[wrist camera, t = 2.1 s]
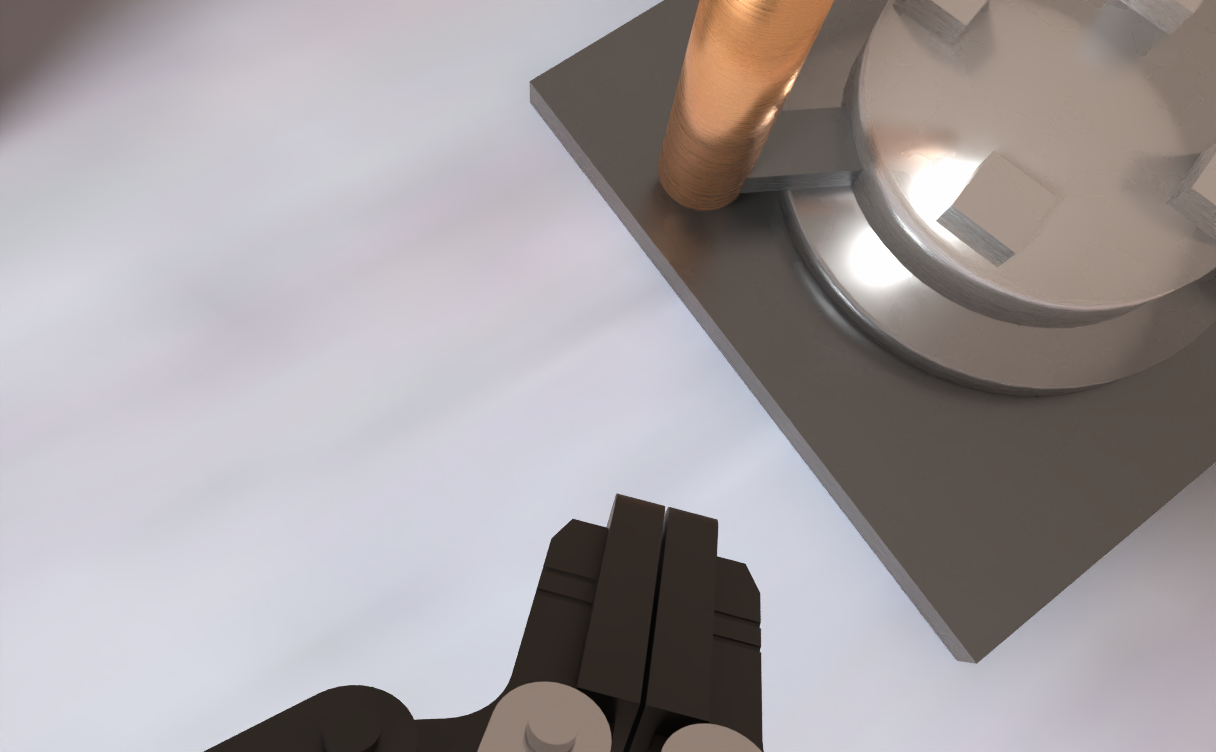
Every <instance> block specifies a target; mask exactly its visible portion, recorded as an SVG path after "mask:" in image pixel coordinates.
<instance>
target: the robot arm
mask: <svg viewBox="0 0 1216 752" xmlns="http://www.w3.org/2000/svg"><path fill="white" fill-rule="evenodd" d="M664 515H665V516H664ZM717 541H718V520H717V519H713V518H709V517H705V516H702V515H698V514H694V513H690V512H686V511H683V510H679V509H675V508H671V507H668V509H667V511H666V513H665V506H663V505H659V504H655V503H651V502H647V501H644V500H640V499H636V498H632V497H628V496H624V495H621V494H616V496H615V500H614V503H613V506H612V510H611V513H610V517H609V520H608V524H607V527H602V526H598V525H594V524H591V523H587V522H583V521H579V520H575V519H572V520H571V521H570V522H569V523H568V524H567V525H565V526H564V527H563V528H562V529H561V530H560V531H559V532H558V533H557V534H556V535H555V536H554V537H553V538H552V539H551V542H550V546H549V549H548V552H547V556H546V559H545V563H544V566H543V570H542V573H541V576H540V580H539V583H538V587H537V590H536V594H535V597H534V600H533V604H532V607H531V611H530V614H529V618H528V621H527V624H526V628H525V631H524V635H523V638H522V642H521V645H520V648H519V652H518V655H517V659H516V662H515V666H514V669H513V673H512V676H511V678H510V681H509V683H508V685H507V686H506V688H505V690H504V691H503V692H502V693H501V695H500V696H499V697H498V698H497V699H496V700H495V701H493V702H492V703H491V704H489V705H488V706H486V707H485V708H483V709H481V710H479V711H477V712H474V713H472V714H469V715H465V716H461V717H456V718H446V719H420V720H414V719H413V716H412V715H411V713H410V712H409V710H408V709H407V707H406V706H405V705H404V704H403V703H402V702H401V701H400V700H398V699H397V698H396V697H394V696H393V695H391V694H389V693H387V692H385V691H383V690H380V689H377V688H374V687H369V686H362V685H348V686H340V687H336V688H332V689H328V690H326V691H323V692H321V693H319V694H317V695H315V696H313V697H311V698H309V699H307V700H305V701H303V702H301V703H299V704H297V705H295V706H293V707H291V708H289V709H287V710H285V711H283V712H281V713H279V714H277V715H275V716H273V717H271V718H269V719H267V720H265V721H263V722H261V723H259V724H257V725H255V726H253V727H251V728H249V729H247V730H245V731H243V732H241V733H239V734H238V735H236V736H234V737H232V738H230V739H228V740H226V741H224V742H222V743H220V744H218V745H216V746H214V747H212V748H210V749H208V750H206V751H204V752H764V751H763V742H762V683H761V652H760V648H761V628H759V627H760V623H761V616H760V592H759V590H758V588H757V586H756V584H755V582H754V580H753V578H752V576H751V574H750V572H749V570H748V568H747V566H746V564H744V563H740V562H736V561H733V560H729V559H725V558H721V557H717Z"/></svg>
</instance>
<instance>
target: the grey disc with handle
mask: <svg viewBox="0 0 1216 752" xmlns="http://www.w3.org/2000/svg"><path fill="white" fill-rule="evenodd" d="M833 2H834V0H699V4H698V8H697V12H696V16H695V19H694V23H693V27H692V31H691V35H690V39H689V43H688V47H687V51H686V55H685V58H684V62H683V66H682V70H681V74H680V78H679V82H678V86H677V90H676V93H675V97H674V101H673V105H672V109H671V113H670V117H669V121H668V125H667V129H666V132H665V136H664V140H663V144H662V148H661V152H660V156H659V160H658V174H659V178H660V181H661V184H662V186H663V188H664V189H665V191H666V192H667V193H668V194H669V196H670V197H671V198H673V199H674V200H675V201H676V202H678V203H679V204H681V205H683V206H685V207H687V208H690V209H694V210H699V211H711V210H716V209H720V208H722V207H725V206H727V205H728V204H730V203H731V202H733V201H734V200H735V199H736V198H737V197H738V196H739V195H740V193H751V192H766V191H780V190H795V189H809V188H823V187H838V186H851V189H852V191H853V194H854V196H855V199H856V201H857V204H858V205H859V207H860V209H861V211H862V213H863V214H864V216H865V218H866V220H867V222H868V224H869V225H870V227H871V228H872V229H873V231H874V232H875V234H876V235H877V236H878V238H879V239H880V241H881V242H882V243H883V245H884V246H885V247H886V248H887V249H888V250H889V251H890V253H891V254H892V255H893V256H894V257H895V258H896V259H897V260H898V261H899V262H900V263H901V264H902V266H904V267H905V268H906V269H907V270H908V271H909V272H911V273H912V274H913V275H914V276H915V277H916V278H918V279H919V280H920V281H921V282H922V283H924V284H925V285H927V286H928V287H930V288H931V289H933V290H934V291H936V292H937V293H939V294H940V295H942V296H943V297H945V298H946V299H948V300H950V301H952V302H954V303H956V304H958V305H960V306H962V307H964V308H966V309H968V310H970V311H973V312H976V313H978V314H981V315H984V316H986V317H989V318H992V319H995V320H999V321H1003V322H1007V323H1011V324H1016V325H1020V326H1029V327H1038V328H1074V327H1080V326H1087V325H1093V324H1098V323H1101V322H1105V321H1108V320H1111V319H1114V318H1118V317H1120V316H1123V315H1125V314H1127V313H1129V312H1131V311H1133V310H1135V309H1138V308H1140V307H1142V306H1144V305H1146V304H1148V303H1150V302H1152V301H1154V300H1156V299H1158V298H1160V297H1162V296H1164V295H1166V294H1168V293H1170V292H1173V291H1175V290H1177V289H1179V288H1181V287H1183V286H1185V285H1187V284H1189V283H1191V282H1193V281H1195V280H1197V279H1199V278H1201V277H1202V276H1204V275H1205V274H1207V273H1208V272H1210V271H1211V270H1213V269H1214V268H1216V0H888V2H887V4H886V6H885V7H884V9H883V11H882V13H881V14H880V16H879V18H878V20H877V21H876V23H875V25H874V27H873V28H872V30H871V32H870V34H869V35H868V37H867V39H866V41H865V42H864V44H863V46H862V47H861V49H860V51H859V53H858V55H857V57H856V59H855V61H854V63H853V65H852V67H851V69H850V72H849V75H848V78H847V81H846V84H845V87H844V92H843V98H842V103H841V107H834V108H817V109H801V110H785V111H781V109H782V107H783V105H784V103H785V101H786V99H787V97H788V95H789V93H790V91H791V89H792V87H793V85H794V82H795V80H796V78H797V76H798V74H799V72H800V70H801V68H802V66H803V64H804V62H805V60H806V58H807V56H808V53H809V51H810V49H811V47H812V45H813V43H814V41H815V39H816V37H817V35H818V33H819V31H820V29H821V27H822V24H823V22H824V20H825V18H826V16H827V14H828V12H829V10H830V8H831V6H832V4H833Z"/></svg>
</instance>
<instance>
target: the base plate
mask: <svg viewBox="0 0 1216 752" xmlns="http://www.w3.org/2000/svg"><path fill="white" fill-rule="evenodd" d="M887 2H888V0H834V2H833V4H832V6H831V8H830V10H829V12H828V14H827V16H826V18H825V20H824V22H823V24H822V27H821V29H820V31H819V33H818V35H817V37H816V39H815V41H814V43H813V45H812V47H811V49H810V51H809V53H808V56H807V58H806V60H805V62H804V64H803V66H802V68H801V70H800V72H799V74H798V76H797V78H796V80H795V82H794V85H793V87H792V89H791V91H790V93H789V95H788V97H787V99H786V101H785V103H784V105H783V107H782V109H781V111H785V110H801V109H817V108H834V107H841V103H842V98H843V92H844V87H845V84H846V81H847V78H848V75H849V72H850V69H851V67H852V65H853V63H854V61H855V59H856V57H857V55H858V53H859V51H860V49H861V47H862V46H863V44H864V42H865V41H866V39H867V37H868V35H869V34H870V32H871V30H872V28H873V27H874V25H875V23H876V21H877V20H878V18H879V16H880V14H881V13H882V11H883V9H884V7H885V6H886V4H887ZM698 4H699V0H664V1H662V2H661V3H659V4H657V5H656V6H654V7H652V8H651V9H649V10H647V11H646V12H644V13H642V14H641V15H639V16H637V17H636V18H634V19H632V20H631V21H629V22H627V23H626V24H624V25H622V26H621V27H619V28H618V29H616V30H614V31H613V32H611V33H609V34H608V35H606V36H604V37H603V38H601V39H599V40H598V41H596V42H594V43H593V44H591V45H589V46H588V47H586V48H584V49H583V50H581V51H579V52H578V53H576V54H574V55H573V56H571V57H569V58H568V59H566V60H564V61H563V62H561V63H560V64H558V65H556V66H555V67H553V68H551V69H550V70H548V71H546V72H545V73H543V74H541V75H540V76H538V77H536V78H535V79H533V80H531V81H530V103H531V104H532V105H533V106H534V108H535V109H536V110H537V112H538V113H539V114H540V116H541V117H542V118H543V120H544V121H545V122H546V123H547V125H548V126H549V127H550V129H551V130H552V131H553V133H554V134H555V135H556V137H557V138H558V139H559V140H560V142H561V143H562V144H563V146H564V147H565V148H566V150H567V151H568V152H569V154H570V155H571V156H572V157H573V159H574V160H575V161H576V163H577V164H578V165H579V167H580V168H581V169H582V171H583V172H584V173H585V174H586V176H587V177H588V178H589V180H590V181H591V182H592V184H593V185H594V186H595V188H596V189H597V190H598V191H599V193H600V194H601V195H602V197H603V198H604V199H605V201H606V202H607V203H608V205H609V206H610V207H611V208H612V210H613V211H614V212H615V214H616V215H617V216H618V218H619V219H620V220H621V222H622V223H623V224H624V225H625V227H626V228H627V229H628V231H629V232H630V233H631V235H632V236H633V237H634V239H635V240H636V241H637V243H638V244H639V245H640V246H641V248H642V249H643V250H644V252H645V253H646V254H647V256H648V257H649V258H650V260H651V261H652V262H653V263H654V265H655V266H656V267H657V269H658V270H659V271H660V273H661V274H662V275H663V277H664V278H665V279H666V280H667V282H668V283H669V284H670V286H671V287H672V288H673V290H674V291H675V292H676V294H677V295H678V296H679V297H680V299H681V300H682V301H683V303H684V304H685V305H686V307H687V308H688V309H689V311H690V312H691V313H692V314H693V316H694V317H695V318H696V320H697V321H698V322H699V324H700V325H701V326H702V328H703V329H704V330H705V331H706V333H707V334H708V335H709V337H710V338H711V339H712V341H713V342H714V343H715V345H716V346H717V347H718V348H719V350H720V351H721V352H722V354H723V355H724V356H725V358H726V359H727V360H728V362H729V363H730V364H731V365H732V367H733V368H734V369H735V371H736V372H737V373H738V375H739V376H740V377H741V379H742V380H743V381H744V382H745V384H746V385H747V386H748V388H749V389H750V390H751V392H752V393H753V394H754V396H755V397H756V398H757V399H758V401H759V402H760V403H761V405H762V406H763V407H764V409H765V410H766V411H767V413H768V414H769V415H770V416H771V418H772V419H773V420H774V422H775V423H776V424H777V426H778V427H779V428H780V430H781V431H782V432H783V433H784V435H785V436H786V437H787V439H788V440H789V441H790V443H791V444H792V445H793V447H794V448H795V449H796V451H797V452H798V453H799V454H800V456H801V457H802V458H803V460H804V461H805V462H806V464H807V465H808V466H809V468H810V469H811V470H812V471H813V473H814V474H815V475H816V477H817V478H818V479H819V481H820V482H821V483H822V485H823V486H824V487H825V488H826V490H827V491H828V492H829V494H830V495H831V496H832V498H833V499H834V500H835V502H836V503H837V504H838V505H839V507H840V508H841V509H842V511H843V512H844V513H845V515H846V516H847V517H848V519H849V520H850V521H851V522H852V524H853V525H854V526H855V528H856V529H857V530H858V532H859V533H860V534H861V536H862V537H863V538H864V539H865V541H866V542H867V543H868V545H869V546H870V547H871V549H872V550H873V551H874V553H875V554H876V555H877V556H878V558H879V559H880V560H881V562H882V563H883V564H884V566H885V567H886V568H887V570H888V571H889V572H890V573H891V575H892V576H893V577H894V579H895V580H896V581H897V583H898V584H899V585H900V587H901V588H902V589H903V590H904V592H905V593H906V594H907V596H908V597H909V598H910V600H911V601H912V602H913V604H914V605H915V606H916V607H917V609H918V610H919V611H920V613H921V614H922V615H923V617H924V618H925V619H926V621H927V622H928V623H929V624H930V626H931V627H932V628H933V630H934V631H935V632H936V634H937V635H938V636H939V638H940V639H941V640H942V641H943V643H944V644H945V645H946V647H947V648H948V649H949V651H950V652H951V653H952V655H953V656H954V657H955V659H956V660H957V661H964V662H970V663H978V662H979V661H980V660H981V659H983V658H984V657H985V656H986V655H987V654H989V653H990V652H991V651H992V650H993V649H994V648H996V647H997V646H998V645H999V644H1000V643H1002V642H1003V641H1004V640H1005V639H1006V638H1007V637H1009V636H1010V635H1011V634H1012V633H1013V632H1015V631H1016V630H1017V629H1018V628H1019V627H1020V626H1022V625H1023V624H1024V623H1025V622H1026V621H1028V620H1029V619H1030V618H1031V617H1032V616H1033V615H1035V614H1036V613H1037V612H1038V611H1039V610H1041V609H1042V608H1043V607H1044V606H1045V605H1046V604H1048V603H1049V602H1050V601H1051V600H1052V599H1054V598H1055V597H1056V596H1057V595H1058V594H1059V593H1061V592H1062V591H1063V590H1064V589H1065V588H1067V587H1068V586H1069V585H1070V584H1071V583H1072V582H1074V581H1075V580H1076V579H1077V578H1078V577H1080V576H1081V575H1082V574H1083V573H1084V572H1085V571H1087V570H1088V569H1089V568H1090V567H1091V566H1093V565H1094V564H1095V563H1096V562H1097V561H1098V560H1100V559H1101V558H1102V557H1103V556H1104V555H1106V554H1107V553H1108V552H1109V551H1110V550H1111V549H1113V548H1114V547H1115V546H1116V545H1117V544H1119V543H1120V542H1121V541H1122V540H1123V539H1124V538H1126V537H1127V536H1128V535H1129V534H1130V533H1132V532H1133V531H1134V530H1135V529H1136V528H1137V527H1139V526H1140V525H1141V524H1142V523H1143V522H1145V521H1146V520H1147V519H1148V518H1149V517H1150V516H1152V515H1153V514H1154V513H1155V512H1156V511H1158V510H1159V509H1160V508H1161V507H1162V506H1163V505H1165V504H1166V503H1167V502H1168V501H1169V500H1171V499H1172V498H1173V497H1174V496H1175V495H1176V494H1178V493H1179V492H1180V491H1181V490H1182V489H1184V488H1185V487H1186V486H1187V485H1188V484H1189V483H1191V482H1192V481H1193V480H1194V479H1195V478H1197V477H1198V476H1199V475H1200V474H1201V473H1203V472H1204V471H1205V470H1206V469H1207V468H1208V467H1210V466H1211V465H1212V464H1213V463H1214V462H1216V268H1214V269H1213V270H1211V271H1210V272H1208V273H1207V274H1205V275H1204V276H1202V277H1201V278H1199V279H1197V280H1195V281H1193V282H1191V283H1189V284H1187V285H1185V286H1183V287H1181V288H1179V289H1177V290H1175V291H1173V292H1170V293H1168V294H1166V295H1164V296H1162V297H1160V298H1158V299H1156V300H1154V301H1152V302H1150V303H1148V304H1146V305H1144V306H1142V307H1140V308H1138V309H1135V310H1133V311H1131V312H1129V313H1127V314H1125V315H1123V316H1120V317H1118V318H1114V319H1111V320H1108V321H1105V322H1101V323H1098V324H1093V325H1087V326H1080V327H1074V328H1038V327H1029V326H1020V325H1016V324H1011V323H1007V322H1003V321H999V320H995V319H992V318H989V317H986V316H984V315H981V314H978V313H976V312H973V311H970V310H968V309H966V308H964V307H962V306H960V305H958V304H956V303H954V302H952V301H950V300H948V299H946V298H945V297H943V296H942V295H940V294H939V293H937V292H936V291H934V290H933V289H931V288H930V287H928V286H927V285H925V284H924V283H922V282H921V281H920V280H919V279H918V278H916V277H915V276H914V275H913V274H912V273H911V272H909V271H908V270H907V269H906V268H905V267H904V266H902V264H901V263H900V262H899V261H898V260H897V259H896V258H895V257H894V256H893V255H892V254H891V253H890V251H889V250H888V249H887V248H886V247H885V246H884V245H883V243H882V242H881V241H880V239H879V238H878V236H877V235H876V234H875V232H874V231H873V229H872V228H871V227H870V225H869V224H868V222H867V220H866V218H865V216H864V214H863V213H862V211H861V209H860V207H859V205H858V204H857V201H856V199H855V196H854V194H853V191H852V189H851V186H838V187H823V188H809V189H795V190H780V191H766V192H751V193H740V195H739V196H738V197H737V198H736V199H735V200H734V201H733V202H731V203H730V204H728V205H727V206H725V207H722V208H720V209H716V210H711V211H699V210H694V209H690V208H687V207H685V206H683V205H681V204H679V203H678V202H676V201H675V200H674V199H673V198H671V197H670V196H669V194H668V193H667V192H666V191H665V189H664V188H663V186H662V184H661V181H660V178H659V174H658V160H659V156H660V152H661V148H662V144H663V140H664V136H665V132H666V129H667V125H668V121H669V117H670V113H671V109H672V105H673V101H674V97H675V93H676V90H677V86H678V82H679V78H680V74H681V70H682V66H683V62H684V58H685V55H686V51H687V47H688V43H689V39H690V35H691V31H692V27H693V23H694V19H695V16H696V12H697V8H698Z"/></svg>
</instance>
